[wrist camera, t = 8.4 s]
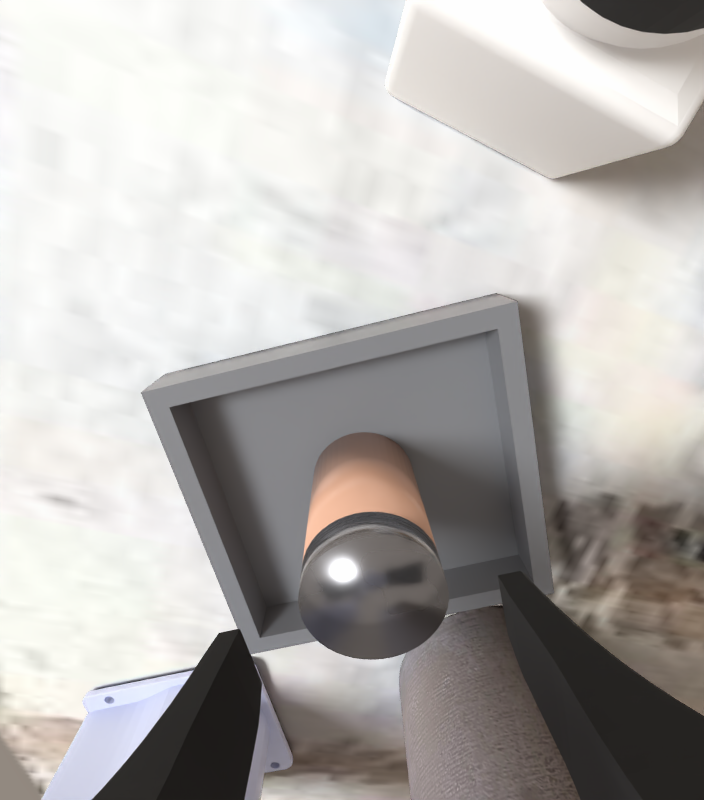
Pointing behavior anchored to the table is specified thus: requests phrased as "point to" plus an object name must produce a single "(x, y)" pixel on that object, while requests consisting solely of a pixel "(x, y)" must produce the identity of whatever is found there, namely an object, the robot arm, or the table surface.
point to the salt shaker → (369, 553)
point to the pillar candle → (476, 718)
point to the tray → (353, 413)
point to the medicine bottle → (554, 75)
